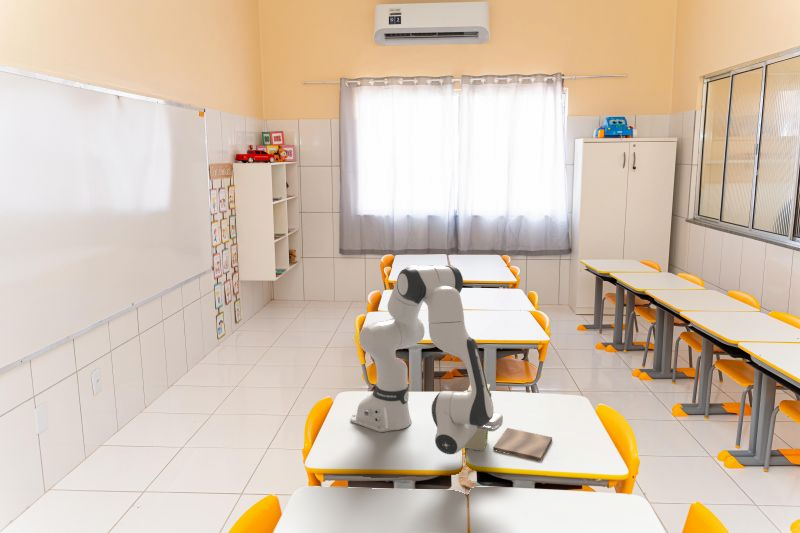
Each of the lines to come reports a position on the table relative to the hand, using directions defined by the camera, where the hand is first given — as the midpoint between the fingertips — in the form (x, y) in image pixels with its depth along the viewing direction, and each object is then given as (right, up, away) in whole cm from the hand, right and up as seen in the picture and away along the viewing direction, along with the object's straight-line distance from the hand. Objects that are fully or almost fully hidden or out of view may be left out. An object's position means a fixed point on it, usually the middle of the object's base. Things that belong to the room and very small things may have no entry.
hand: (478, 407), depth 213 cm
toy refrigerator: (0, -13, +2) cm, 14 cm away
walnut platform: (+15, -13, +2) cm, 20 cm away
